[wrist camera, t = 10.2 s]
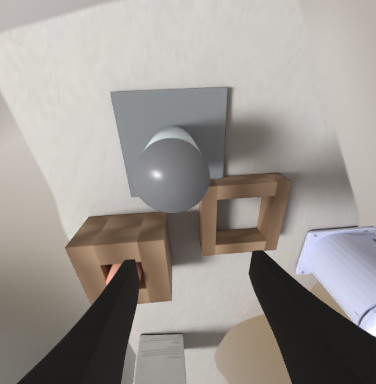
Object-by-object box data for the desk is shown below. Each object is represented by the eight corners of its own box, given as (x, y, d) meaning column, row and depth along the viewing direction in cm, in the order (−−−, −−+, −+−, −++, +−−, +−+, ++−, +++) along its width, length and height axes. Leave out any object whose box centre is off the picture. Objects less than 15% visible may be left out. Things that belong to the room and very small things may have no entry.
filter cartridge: (193, 123, 16) (208, 136, 9) (196, 168, 18) (211, 208, 11) (145, 128, 16) (124, 146, 9) (154, 173, 18) (141, 216, 11)
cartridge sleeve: (278, 172, 20) (292, 181, 18) (266, 236, 24) (276, 249, 22) (199, 177, 20) (202, 187, 17) (199, 241, 23) (202, 255, 21)
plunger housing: (166, 211, 21) (164, 240, 17) (172, 265, 25) (171, 300, 20) (88, 217, 21) (65, 247, 16) (107, 271, 25) (92, 308, 20)
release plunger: (144, 236, 22) (136, 270, 17) (147, 255, 23) (141, 292, 18) (117, 238, 21) (102, 273, 17) (122, 258, 23) (110, 295, 18)
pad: (225, 87, 16) (227, 87, 15) (220, 188, 20) (222, 191, 20) (112, 92, 15) (110, 91, 15) (132, 194, 20) (131, 197, 19)
